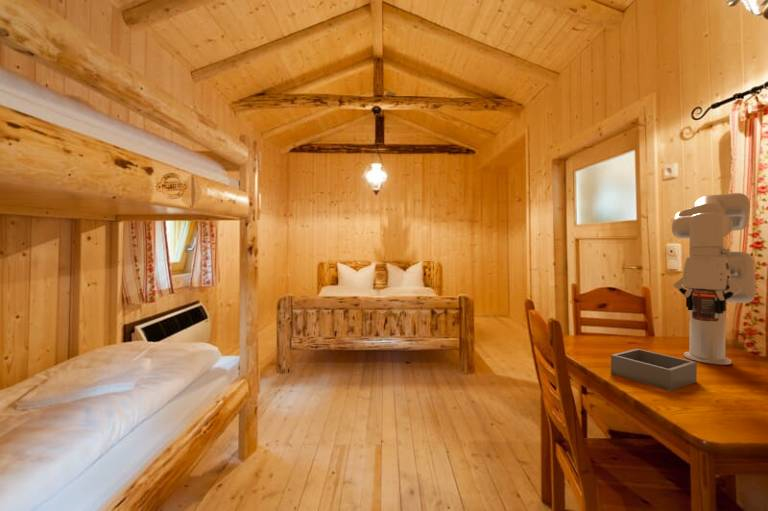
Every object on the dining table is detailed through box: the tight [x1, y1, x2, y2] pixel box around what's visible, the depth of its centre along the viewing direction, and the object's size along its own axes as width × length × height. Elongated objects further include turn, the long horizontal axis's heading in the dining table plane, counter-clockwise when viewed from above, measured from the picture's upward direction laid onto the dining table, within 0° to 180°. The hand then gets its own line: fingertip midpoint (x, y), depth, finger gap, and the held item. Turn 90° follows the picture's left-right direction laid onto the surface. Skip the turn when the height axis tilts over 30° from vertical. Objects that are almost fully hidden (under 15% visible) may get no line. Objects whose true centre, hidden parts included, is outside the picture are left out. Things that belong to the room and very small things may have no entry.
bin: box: [610, 348, 698, 392], centre depth 105 cm, size 16×16×6 cm
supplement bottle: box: [692, 289, 719, 322], centre depth 102 cm, size 6×6×11 cm
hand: (705, 311), depth 102 cm, fingers closed on supplement bottle, 6 cm apart
